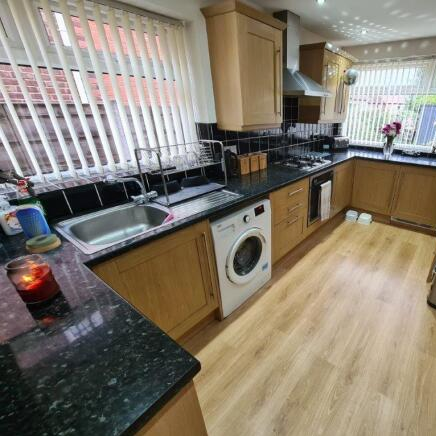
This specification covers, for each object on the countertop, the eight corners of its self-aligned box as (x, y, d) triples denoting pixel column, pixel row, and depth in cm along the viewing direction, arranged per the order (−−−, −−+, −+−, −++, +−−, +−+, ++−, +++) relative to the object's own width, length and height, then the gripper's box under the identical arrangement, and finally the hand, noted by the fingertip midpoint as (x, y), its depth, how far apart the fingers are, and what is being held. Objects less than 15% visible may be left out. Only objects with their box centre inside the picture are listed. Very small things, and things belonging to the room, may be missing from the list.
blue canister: (26, 243, 112) (10, 211, 105) (29, 236, 118) (13, 205, 111) (51, 237, 117) (37, 206, 110) (52, 231, 123) (39, 201, 116)
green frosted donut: (20, 254, 104) (16, 246, 102) (41, 241, 114) (37, 233, 112) (49, 252, 105) (45, 244, 103) (67, 239, 115) (63, 232, 113)
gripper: (22, 167, 126) (49, 199, 126) (-55, 178, 106) (-23, 216, 106) (22, 157, 122) (50, 190, 122) (-58, 168, 101) (-24, 207, 102)
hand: (16, 203), depth 114 cm, fingers open, 13 cm apart
